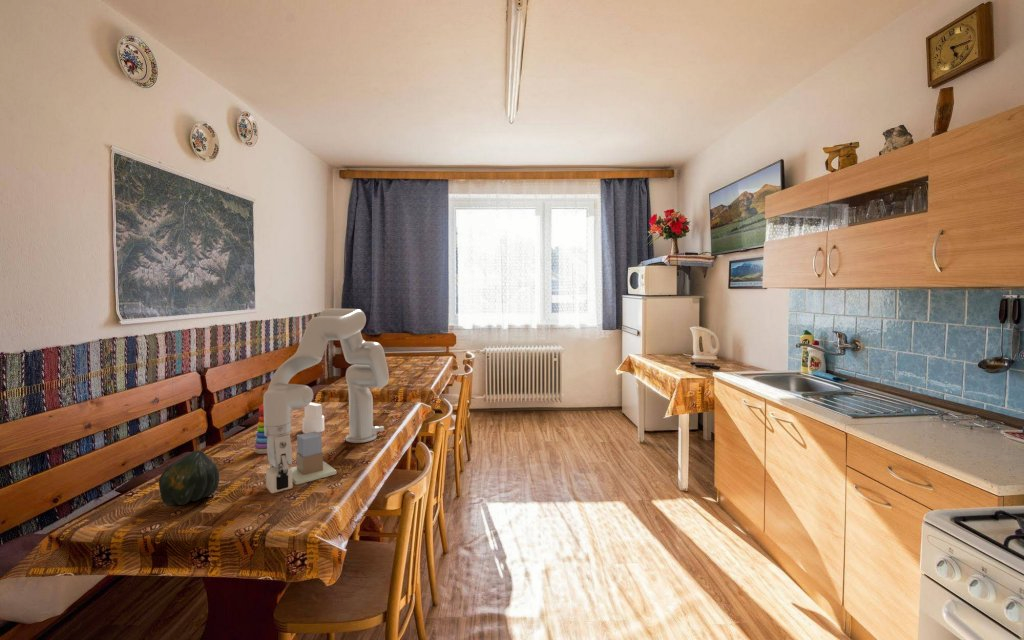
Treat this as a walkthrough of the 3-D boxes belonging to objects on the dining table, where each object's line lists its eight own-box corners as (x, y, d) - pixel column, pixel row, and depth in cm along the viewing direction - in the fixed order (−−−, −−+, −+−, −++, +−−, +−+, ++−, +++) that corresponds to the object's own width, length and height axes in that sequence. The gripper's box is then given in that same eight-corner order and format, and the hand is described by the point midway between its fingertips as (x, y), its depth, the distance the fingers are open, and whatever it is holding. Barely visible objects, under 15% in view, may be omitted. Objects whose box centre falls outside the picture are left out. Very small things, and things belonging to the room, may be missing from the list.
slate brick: (315, 448, 158) (315, 431, 158) (321, 452, 154) (321, 435, 153) (297, 452, 154) (296, 435, 154) (303, 457, 150) (302, 439, 149)
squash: (135, 491, 127) (170, 452, 127) (174, 472, 142) (206, 437, 142) (173, 525, 127) (208, 485, 127) (209, 503, 142) (240, 467, 142)
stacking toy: (267, 455, 171) (266, 406, 170) (249, 453, 173) (247, 405, 172) (282, 448, 179) (281, 401, 178) (264, 446, 181) (263, 400, 180)
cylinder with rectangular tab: (328, 429, 204) (328, 403, 203) (310, 434, 196) (309, 407, 196) (316, 426, 209) (315, 400, 208) (298, 431, 201) (297, 404, 200)
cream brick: (286, 482, 147) (286, 463, 147) (292, 487, 143) (292, 469, 143) (266, 487, 143) (265, 468, 143) (271, 493, 139) (271, 474, 139)
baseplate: (322, 463, 163) (322, 443, 163) (336, 474, 154) (336, 453, 154) (283, 472, 155) (283, 452, 154) (296, 484, 145) (295, 462, 145)
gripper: (299, 432, 138) (300, 490, 139) (282, 420, 151) (283, 473, 152) (272, 437, 133) (274, 497, 134) (257, 425, 146) (258, 479, 147)
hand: (279, 484), depth 143 cm, fingers closed on cream brick, 6 cm apart
